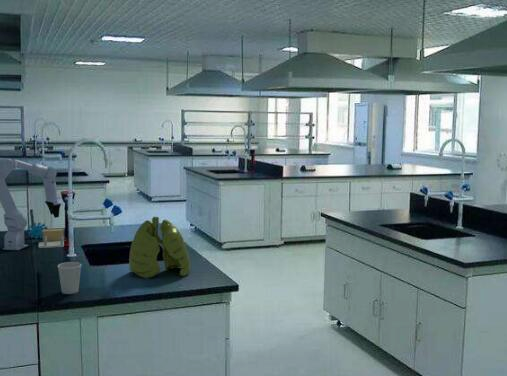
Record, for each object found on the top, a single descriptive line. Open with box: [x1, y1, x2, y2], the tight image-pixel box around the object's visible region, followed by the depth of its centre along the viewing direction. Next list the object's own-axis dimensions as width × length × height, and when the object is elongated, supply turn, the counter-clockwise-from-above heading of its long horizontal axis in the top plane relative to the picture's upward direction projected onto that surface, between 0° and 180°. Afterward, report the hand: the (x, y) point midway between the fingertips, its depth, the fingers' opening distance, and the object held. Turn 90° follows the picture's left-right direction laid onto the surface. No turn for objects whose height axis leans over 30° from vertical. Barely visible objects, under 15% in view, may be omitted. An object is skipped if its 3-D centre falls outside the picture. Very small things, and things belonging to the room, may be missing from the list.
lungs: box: [128, 216, 191, 279], centre depth 227 cm, size 25×16×24 cm, turn 106°
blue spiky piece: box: [27, 222, 48, 240], centre depth 291 cm, size 11×6×10 cm
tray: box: [37, 235, 65, 249], centre depth 274 cm, size 14×10×4 cm
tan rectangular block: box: [42, 228, 65, 242], centre depth 282 cm, size 10×4×6 cm, turn 110°
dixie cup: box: [57, 261, 82, 295], centre depth 202 cm, size 8×8×10 cm
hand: (54, 215), depth 284 cm, fingers open, 7 cm apart
